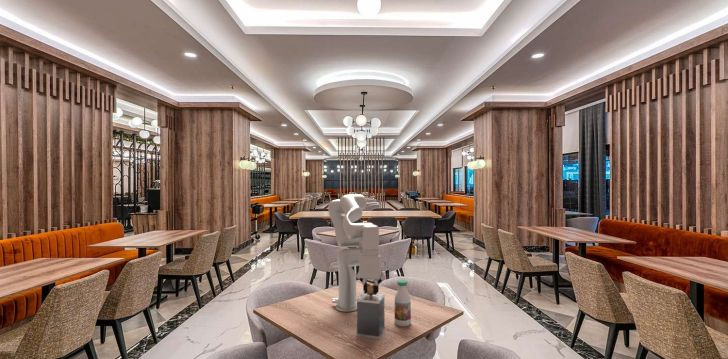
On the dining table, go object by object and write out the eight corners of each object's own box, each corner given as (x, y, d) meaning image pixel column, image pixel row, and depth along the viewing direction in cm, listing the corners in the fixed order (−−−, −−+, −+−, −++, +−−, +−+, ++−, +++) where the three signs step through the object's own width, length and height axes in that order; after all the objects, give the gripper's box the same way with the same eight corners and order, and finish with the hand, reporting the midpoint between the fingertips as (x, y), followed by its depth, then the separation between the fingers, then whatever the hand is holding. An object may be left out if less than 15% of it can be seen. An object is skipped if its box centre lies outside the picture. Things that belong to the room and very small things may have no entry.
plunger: (359, 332, 137) (359, 286, 137) (365, 324, 145) (364, 281, 145) (377, 334, 134) (377, 288, 135) (382, 326, 142) (381, 282, 143)
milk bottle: (393, 320, 152) (392, 279, 153) (408, 319, 153) (408, 278, 153) (396, 327, 144) (395, 283, 145) (412, 326, 145) (412, 283, 145)
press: (356, 336, 136) (356, 299, 136) (365, 323, 148) (364, 289, 149) (379, 339, 133) (379, 301, 133) (386, 326, 145) (386, 291, 146)
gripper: (350, 253, 139) (350, 294, 139) (387, 255, 134) (387, 298, 134) (355, 249, 147) (355, 289, 146) (390, 251, 142) (390, 292, 141)
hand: (370, 292), depth 140 cm, fingers closed on plunger, 4 cm apart
